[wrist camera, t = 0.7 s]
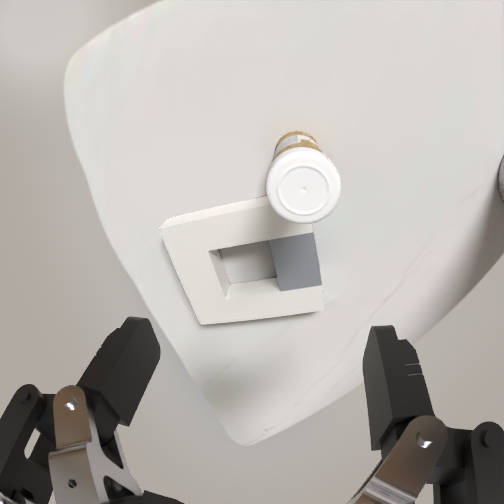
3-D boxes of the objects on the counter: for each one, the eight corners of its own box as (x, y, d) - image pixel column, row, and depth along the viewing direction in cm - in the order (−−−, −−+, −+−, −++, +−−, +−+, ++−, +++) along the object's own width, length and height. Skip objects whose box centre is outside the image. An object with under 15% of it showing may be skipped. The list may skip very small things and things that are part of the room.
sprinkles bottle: (327, 160, 28) (355, 204, 16) (289, 181, 30) (290, 239, 18) (304, 122, 26) (318, 137, 15) (265, 144, 28) (249, 177, 16)
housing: (305, 188, 30) (306, 197, 27) (323, 294, 36) (325, 309, 33) (168, 218, 33) (158, 228, 31) (206, 310, 40) (200, 324, 37)
